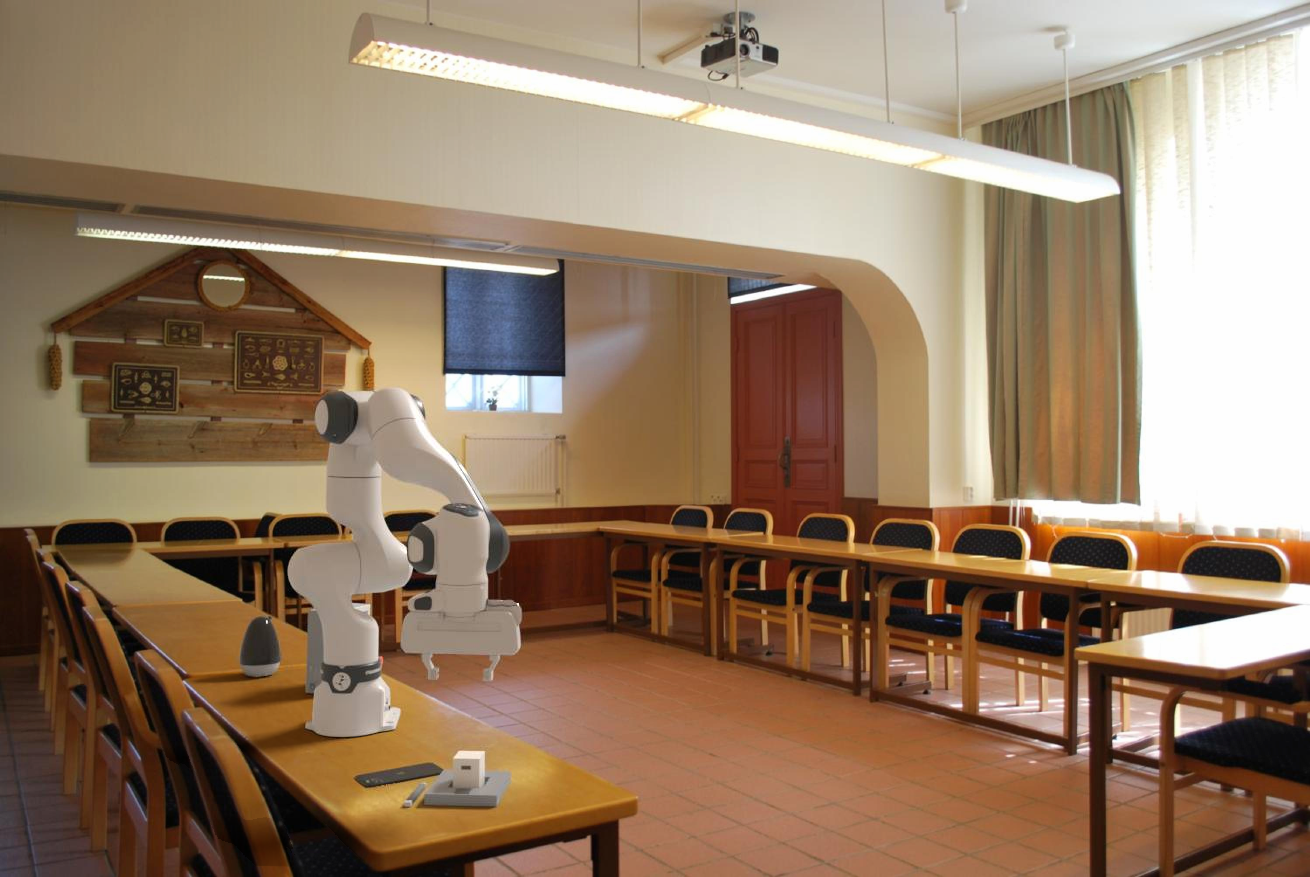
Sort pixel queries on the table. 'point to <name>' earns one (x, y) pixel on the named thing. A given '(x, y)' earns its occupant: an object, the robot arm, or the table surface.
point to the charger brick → (469, 769)
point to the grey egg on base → (260, 648)
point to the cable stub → (415, 794)
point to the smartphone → (399, 774)
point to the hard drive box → (319, 647)
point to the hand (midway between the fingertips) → (460, 679)
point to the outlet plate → (468, 790)
